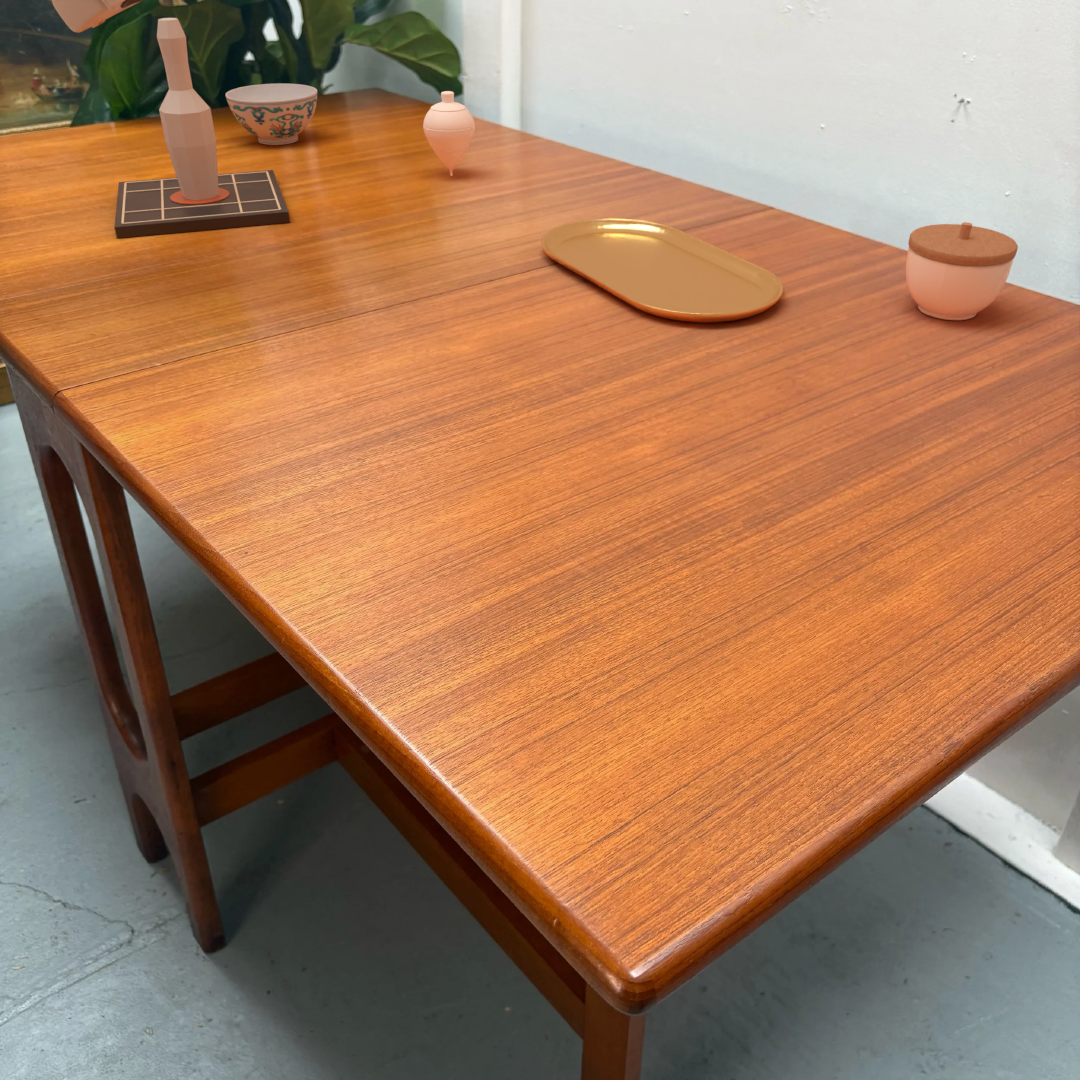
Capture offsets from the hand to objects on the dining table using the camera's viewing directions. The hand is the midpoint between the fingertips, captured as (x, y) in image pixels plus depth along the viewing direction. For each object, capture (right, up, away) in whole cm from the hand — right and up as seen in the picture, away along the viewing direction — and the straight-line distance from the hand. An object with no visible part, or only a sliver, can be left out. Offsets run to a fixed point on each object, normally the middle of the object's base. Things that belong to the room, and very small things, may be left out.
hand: (127, 1), depth 113 cm
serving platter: (+60, -29, +7) cm, 67 cm away
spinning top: (+32, -5, +42) cm, 53 cm away
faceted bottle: (-1, -12, +28) cm, 31 cm away
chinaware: (+1, +8, +61) cm, 62 cm away
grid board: (-1, -13, +29) cm, 32 cm away
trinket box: (+90, -35, -2) cm, 97 cm away
